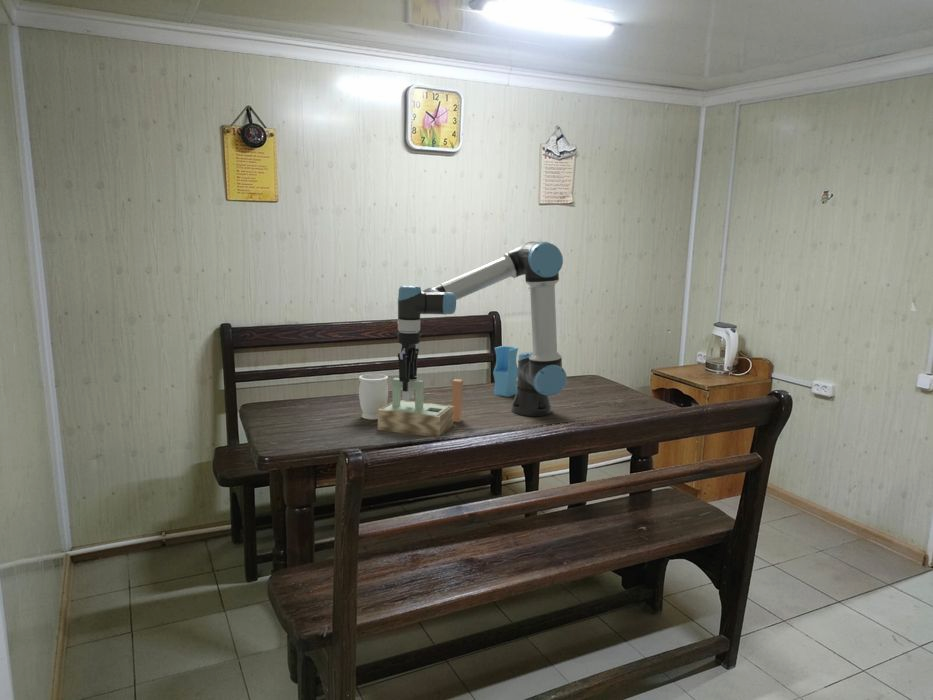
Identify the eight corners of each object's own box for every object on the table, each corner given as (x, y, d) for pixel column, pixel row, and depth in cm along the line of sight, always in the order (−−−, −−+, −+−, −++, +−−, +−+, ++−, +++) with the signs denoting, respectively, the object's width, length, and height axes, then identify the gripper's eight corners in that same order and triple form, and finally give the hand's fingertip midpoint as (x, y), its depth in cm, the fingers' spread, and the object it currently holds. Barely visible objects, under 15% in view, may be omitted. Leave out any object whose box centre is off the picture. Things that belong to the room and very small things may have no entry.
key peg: (461, 420, 228) (463, 379, 226) (459, 422, 225) (460, 381, 223) (453, 419, 229) (455, 379, 226) (451, 421, 226) (452, 380, 224)
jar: (374, 422, 222) (375, 381, 219) (352, 417, 227) (352, 377, 224) (393, 416, 231) (394, 376, 228) (372, 411, 236) (372, 372, 233)
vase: (492, 393, 268) (494, 347, 265) (501, 390, 275) (503, 345, 271) (508, 397, 264) (510, 350, 261) (517, 393, 270) (519, 347, 267)
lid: (448, 409, 220) (449, 379, 218) (436, 418, 208) (437, 387, 206) (397, 403, 225) (397, 374, 223) (382, 412, 214) (383, 381, 212)
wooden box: (453, 425, 222) (453, 405, 220) (438, 437, 208) (439, 417, 206) (395, 418, 228) (395, 399, 227) (377, 429, 214) (377, 409, 213)
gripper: (407, 327, 221) (406, 392, 225) (389, 333, 207) (388, 403, 211) (427, 329, 219) (426, 395, 223) (410, 335, 204) (409, 405, 209)
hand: (407, 398), depth 217 cm, fingers closed on lid, 2 cm apart
